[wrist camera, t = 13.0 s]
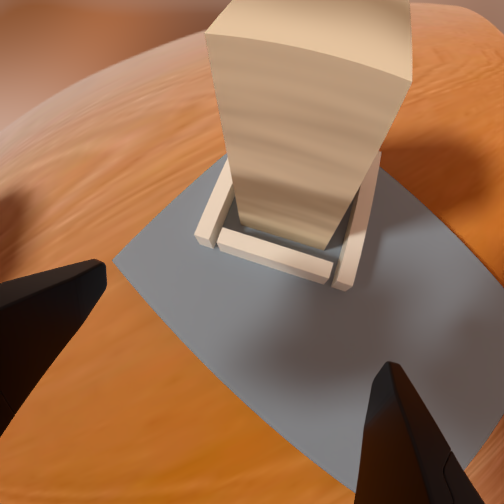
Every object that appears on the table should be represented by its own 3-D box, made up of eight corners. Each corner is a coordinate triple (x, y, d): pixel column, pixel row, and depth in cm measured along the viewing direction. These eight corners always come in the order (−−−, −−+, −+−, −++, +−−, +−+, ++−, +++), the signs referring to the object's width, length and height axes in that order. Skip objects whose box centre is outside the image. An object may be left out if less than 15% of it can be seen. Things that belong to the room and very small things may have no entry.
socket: (345, 291, 16) (352, 286, 15) (199, 244, 17) (193, 234, 16) (374, 165, 18) (381, 152, 17) (249, 128, 19) (248, 113, 18)
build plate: (403, 522, 13) (409, 528, 12) (119, 264, 18) (111, 260, 17) (533, 340, 15) (542, 338, 14) (290, 111, 21) (290, 101, 20)
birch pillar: (323, 250, 17) (412, 81, 5) (240, 224, 17) (203, 33, 6) (342, 178, 18) (409, -2, 7) (267, 156, 19) (265, -35, 7)
